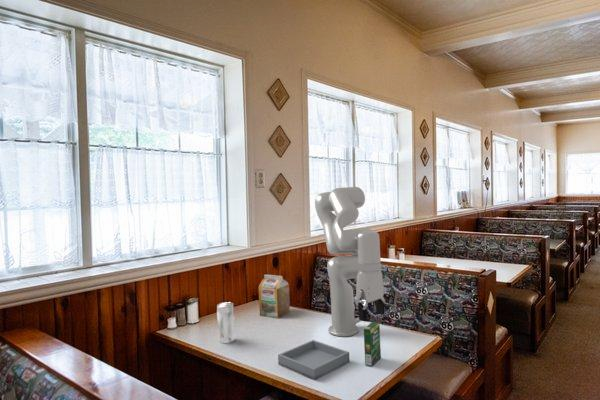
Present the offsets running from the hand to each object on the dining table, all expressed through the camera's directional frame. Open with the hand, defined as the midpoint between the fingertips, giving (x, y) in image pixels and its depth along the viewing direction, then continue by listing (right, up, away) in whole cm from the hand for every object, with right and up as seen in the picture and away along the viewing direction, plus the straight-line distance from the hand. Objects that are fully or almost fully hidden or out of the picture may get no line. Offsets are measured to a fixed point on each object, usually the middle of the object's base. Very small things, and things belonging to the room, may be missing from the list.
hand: (372, 317), depth 142 cm
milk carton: (-37, -16, +59) cm, 72 cm away
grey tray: (-20, -17, +2) cm, 26 cm away
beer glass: (-55, -18, +27) cm, 64 cm away
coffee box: (+1, -16, +1) cm, 16 cm away
